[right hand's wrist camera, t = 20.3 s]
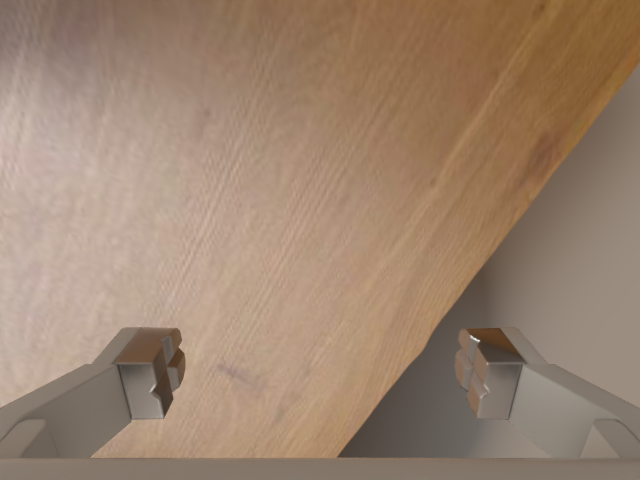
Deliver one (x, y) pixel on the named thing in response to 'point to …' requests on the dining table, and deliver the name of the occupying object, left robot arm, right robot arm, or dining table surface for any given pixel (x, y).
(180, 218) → the dining table surface
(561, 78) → the dining table surface
